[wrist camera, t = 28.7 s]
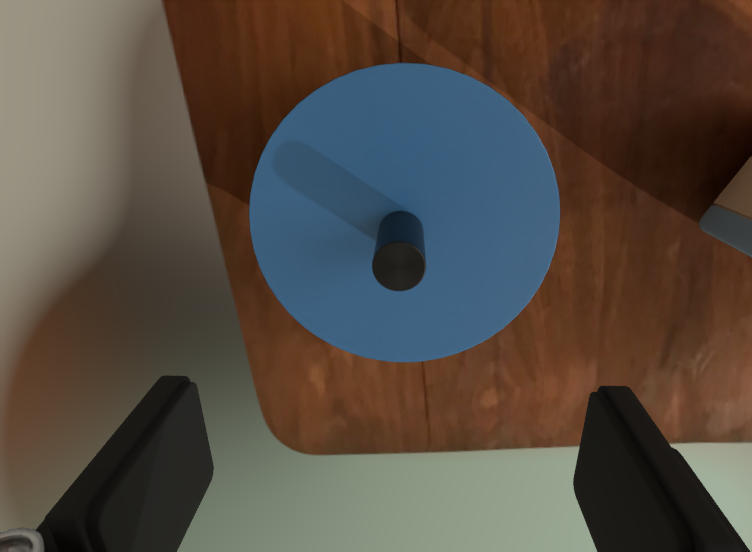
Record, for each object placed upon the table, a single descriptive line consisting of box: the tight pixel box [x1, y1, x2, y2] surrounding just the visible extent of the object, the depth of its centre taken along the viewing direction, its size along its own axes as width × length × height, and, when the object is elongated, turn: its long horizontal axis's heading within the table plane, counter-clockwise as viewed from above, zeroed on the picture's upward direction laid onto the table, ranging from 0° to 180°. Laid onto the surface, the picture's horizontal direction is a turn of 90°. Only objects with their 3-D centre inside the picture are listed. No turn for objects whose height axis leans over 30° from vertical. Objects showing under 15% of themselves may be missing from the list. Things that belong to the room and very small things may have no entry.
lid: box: [249, 63, 560, 362], centre depth 23 cm, size 17×17×6 cm
